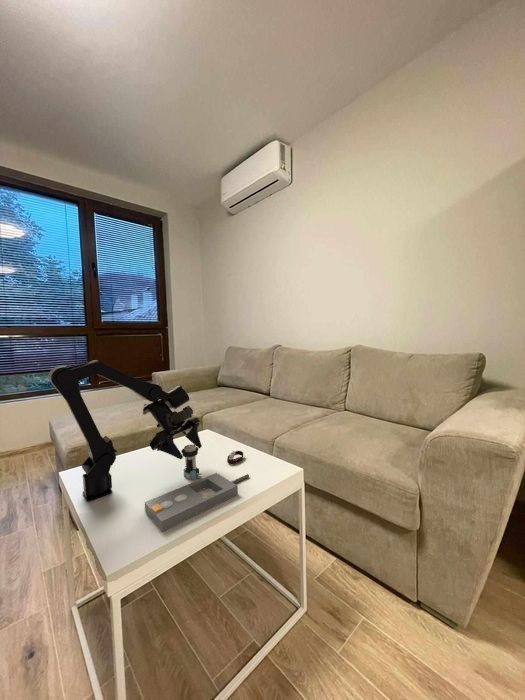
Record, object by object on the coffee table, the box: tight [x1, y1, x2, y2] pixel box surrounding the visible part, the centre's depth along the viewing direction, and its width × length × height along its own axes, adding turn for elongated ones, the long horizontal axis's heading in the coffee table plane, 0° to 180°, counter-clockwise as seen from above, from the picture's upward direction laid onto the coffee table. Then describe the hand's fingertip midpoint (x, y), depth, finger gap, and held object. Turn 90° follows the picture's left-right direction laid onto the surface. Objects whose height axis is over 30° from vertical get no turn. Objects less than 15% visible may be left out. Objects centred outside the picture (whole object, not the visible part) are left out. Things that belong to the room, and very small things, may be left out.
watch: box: [226, 450, 244, 465], centre depth 103 cm, size 8×5×4 cm, turn 149°
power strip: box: [144, 472, 250, 533], centre depth 80 cm, size 30×11×3 cm, turn 132°
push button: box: [180, 444, 203, 480], centre depth 91 cm, size 7×5×10 cm
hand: (191, 452), depth 91 cm, fingers open, 9 cm apart
